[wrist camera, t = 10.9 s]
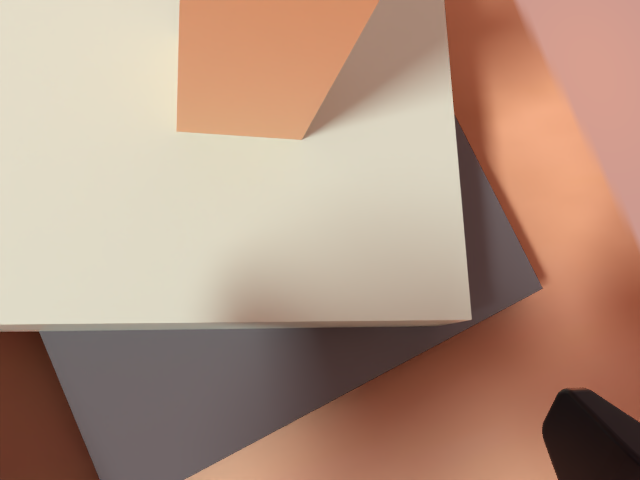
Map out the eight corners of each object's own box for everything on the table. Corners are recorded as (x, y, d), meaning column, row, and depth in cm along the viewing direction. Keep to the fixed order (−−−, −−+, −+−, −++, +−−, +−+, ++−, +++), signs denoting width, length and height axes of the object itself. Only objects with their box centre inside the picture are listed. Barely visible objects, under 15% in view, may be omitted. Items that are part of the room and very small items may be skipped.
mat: (523, 293, 18) (543, 288, 17) (118, 507, 14) (114, 516, 13) (308, -134, 20) (315, -159, 19) (-111, -48, 16) (-128, -75, 15)
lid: (436, 326, 16) (800, 259, 7) (-15, 331, 14) (-434, 234, 4) (411, -31, 19) (652, -439, 9) (24, -87, 16) (-185, -745, 7)
